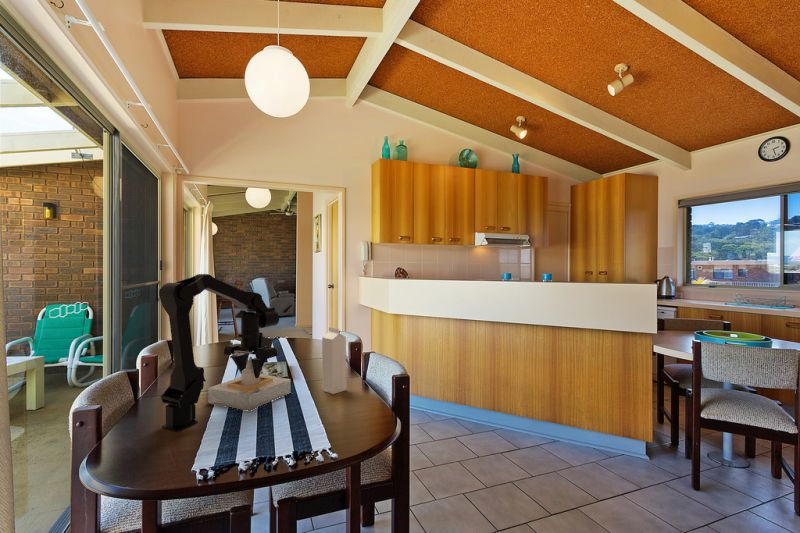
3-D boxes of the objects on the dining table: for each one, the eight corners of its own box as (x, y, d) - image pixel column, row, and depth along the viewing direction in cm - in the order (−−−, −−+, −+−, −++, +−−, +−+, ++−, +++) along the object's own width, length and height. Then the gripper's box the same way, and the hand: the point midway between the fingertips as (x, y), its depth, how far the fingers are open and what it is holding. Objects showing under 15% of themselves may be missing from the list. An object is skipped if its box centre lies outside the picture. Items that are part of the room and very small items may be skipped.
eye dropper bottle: (251, 396, 122) (251, 359, 122) (239, 393, 124) (239, 357, 124) (261, 392, 126) (261, 356, 126) (249, 389, 128) (249, 354, 128)
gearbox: (249, 412, 113) (249, 392, 113) (208, 403, 121) (208, 385, 121) (300, 389, 134) (299, 373, 134) (262, 383, 142) (262, 367, 142)
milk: (332, 394, 128) (332, 330, 128) (322, 390, 132) (321, 328, 132) (346, 390, 133) (346, 328, 133) (336, 386, 137) (335, 326, 137)
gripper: (288, 328, 129) (289, 373, 128) (248, 325, 136) (248, 368, 136) (264, 333, 118) (264, 383, 118) (222, 329, 126) (222, 376, 126)
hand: (250, 377), depth 125 cm, fingers closed on eye dropper bottle, 6 cm apart
